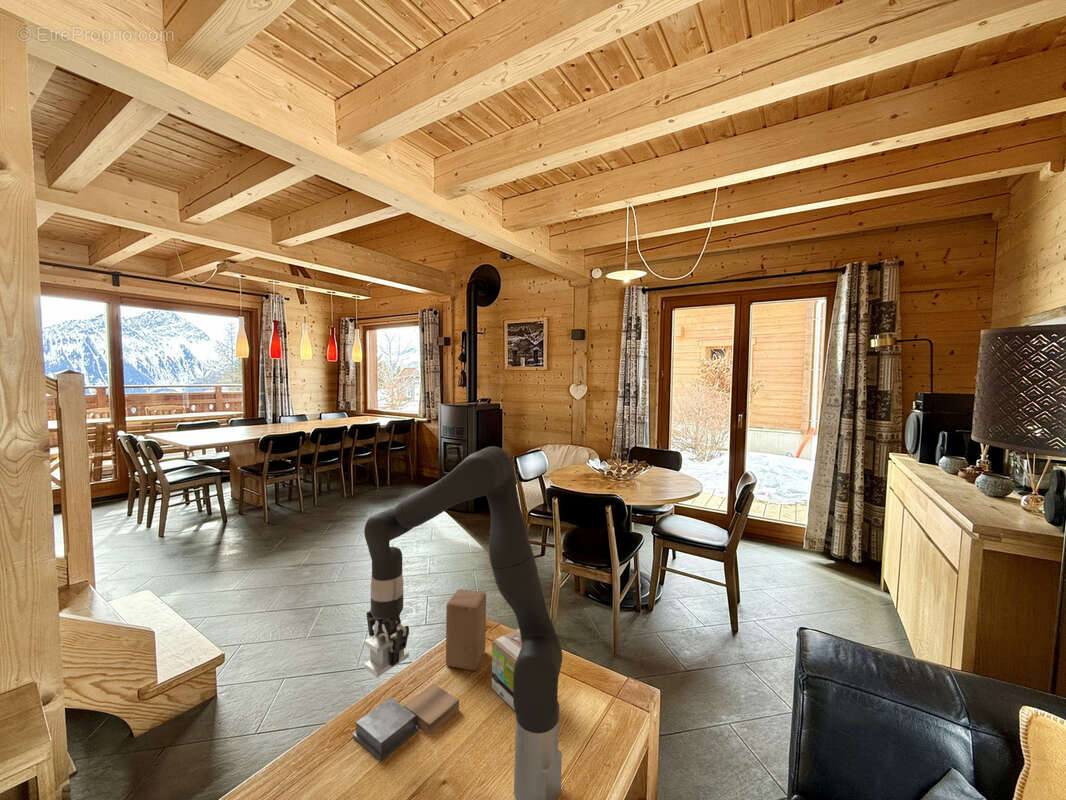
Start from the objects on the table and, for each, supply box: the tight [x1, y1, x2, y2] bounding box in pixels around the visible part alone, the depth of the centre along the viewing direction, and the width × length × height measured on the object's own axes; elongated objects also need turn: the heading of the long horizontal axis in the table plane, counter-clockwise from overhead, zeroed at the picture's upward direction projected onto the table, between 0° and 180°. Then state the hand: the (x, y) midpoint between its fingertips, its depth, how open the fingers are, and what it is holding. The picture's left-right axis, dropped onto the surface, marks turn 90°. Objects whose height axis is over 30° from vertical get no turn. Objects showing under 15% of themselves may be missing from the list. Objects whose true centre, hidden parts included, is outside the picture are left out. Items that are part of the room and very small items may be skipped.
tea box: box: [491, 627, 522, 711], centre depth 119 cm, size 15×10×15 cm, turn 42°
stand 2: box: [403, 682, 460, 737], centre depth 113 cm, size 10×10×3 cm
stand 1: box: [352, 696, 420, 763], centre depth 106 cm, size 11×11×4 cm
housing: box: [364, 632, 410, 678], centre depth 105 cm, size 9×5×7 cm, turn 144°
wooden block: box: [445, 588, 487, 671], centre depth 134 cm, size 10×10×20 cm
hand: (387, 659), depth 105 cm, fingers closed on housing, 5 cm apart
